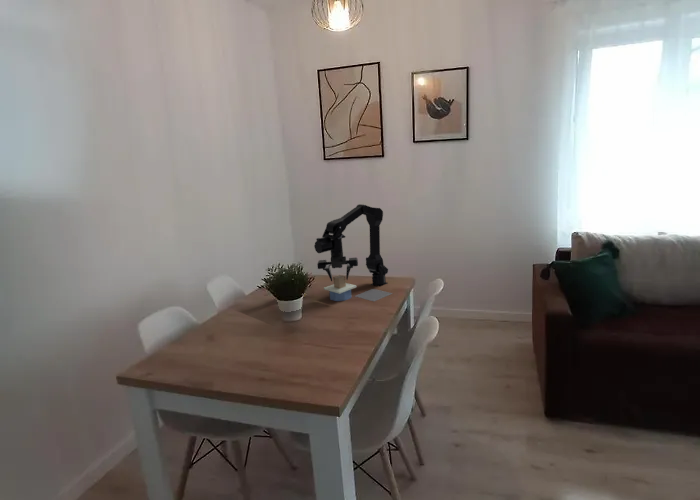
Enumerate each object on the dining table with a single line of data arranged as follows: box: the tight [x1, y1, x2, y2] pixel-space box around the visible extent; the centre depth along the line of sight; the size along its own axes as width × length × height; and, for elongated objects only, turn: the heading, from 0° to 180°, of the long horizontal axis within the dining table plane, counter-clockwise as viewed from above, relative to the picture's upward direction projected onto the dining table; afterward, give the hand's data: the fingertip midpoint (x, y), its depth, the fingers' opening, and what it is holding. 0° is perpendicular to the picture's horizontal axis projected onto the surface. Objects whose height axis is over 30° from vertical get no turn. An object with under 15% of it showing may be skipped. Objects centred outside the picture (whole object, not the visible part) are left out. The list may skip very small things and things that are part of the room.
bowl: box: [329, 289, 352, 302], centre depth 218 cm, size 10×10×5 cm
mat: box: [354, 288, 393, 302], centre depth 218 cm, size 13×13×1 cm
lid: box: [323, 274, 357, 294], centre depth 216 cm, size 11×11×6 cm
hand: (339, 280), depth 216 cm, fingers open, 7 cm apart
